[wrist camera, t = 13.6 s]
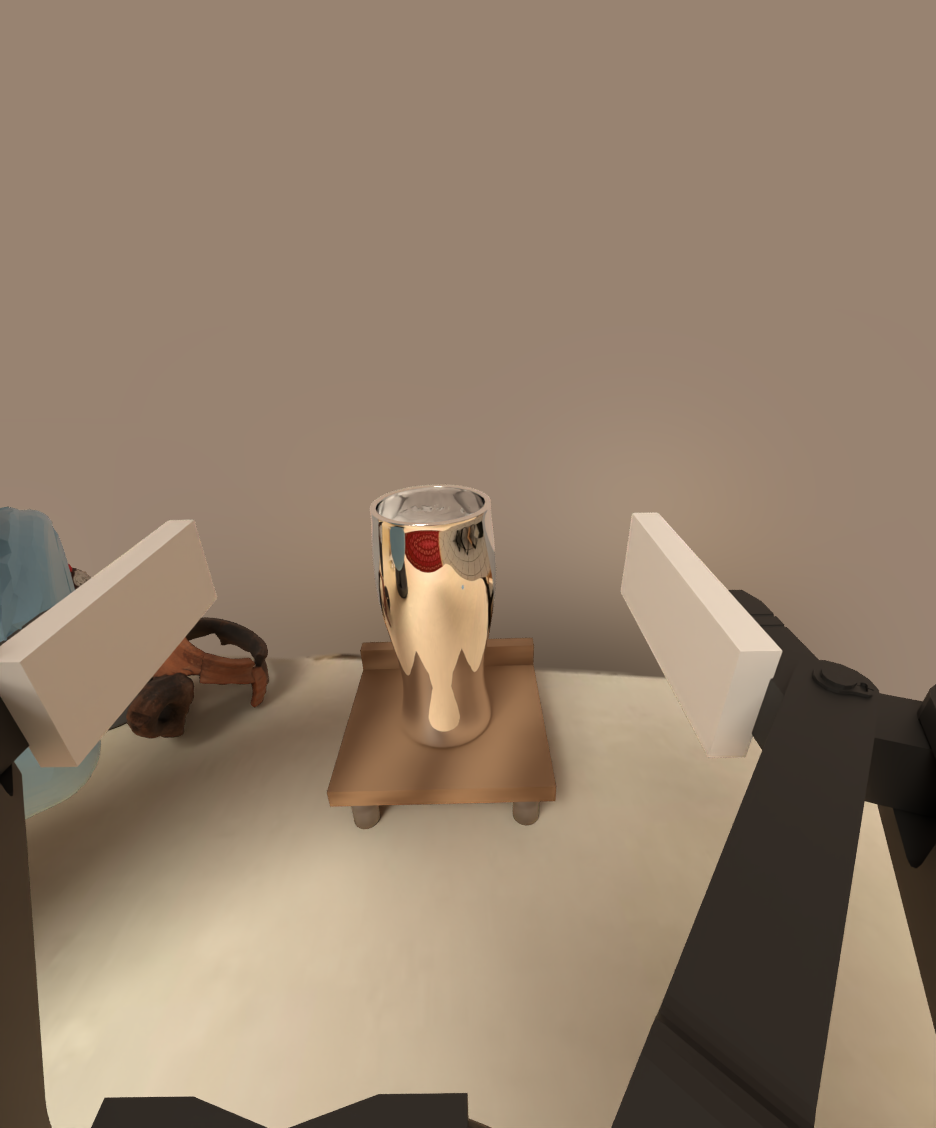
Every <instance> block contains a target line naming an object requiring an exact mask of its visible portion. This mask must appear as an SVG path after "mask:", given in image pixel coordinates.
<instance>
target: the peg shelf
mask: <svg viewBox="0 0 936 1128" xmlns="http://www.w3.org/2000/svg"><path fill="white" fill-rule="evenodd" d="M360 651H361V658H362V664H363V673H362V676H361V679H360V683H359V686H358V690H357V693H356V696H355V700H354V703H353V706H352V710H351V713H350V716H349V720H348V723H347V726H346V730H345V733H344V736H343V740H342V743H341V747H340V750H339V753H338V757H337V760H336V763H335V767H334V770H333V773H332V777H331V780H330V783H329V787H328V790H327V795H328V799H329V803H330V807H331V806H351V807H352V812H353V817H354V822H355V824H356V826H357V827H359V828H361V829H369V828H371V827H373V826H374V825H376V824H377V822H378V821H379V818H380V812H379V806H378V805H414V804H456V803H497V802H513V817H514V819H515V820H516V821H517V822H518V823H520V824H522V825H531V824H533V823H535V822H536V821H537V819H538V813H539V801H555V796H556V783H555V778H554V773H553V767H552V762H551V757H550V751H549V746H548V741H547V735H546V730H545V725H544V719H543V714H542V709H541V703H540V698H539V693H538V687H537V682H536V677H535V671H534V666H533V656H534V644H533V639H532V638H507V639H488V642H487V647H486V654H485V661H484V677H485V683H486V688H487V692H488V695H489V699H490V704H491V718H490V722H489V724H488V726H487V727H486V729H485V730H484V731H483V732H482V733H481V734H480V735H479V736H478V737H477V738H475V739H474V740H472V741H470V742H468V743H466V744H463V745H460V746H456V747H450V748H435V747H429V746H426V745H423V744H420V743H418V742H416V741H415V740H413V739H412V738H411V737H409V736H408V735H407V733H406V732H405V730H404V729H403V726H402V724H401V707H402V699H403V681H402V675H401V670H400V666H399V663H398V660H397V657H396V654H395V651H394V648H393V645H392V642H370V643H363V644H362V647H361V650H360Z"/></svg>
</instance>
